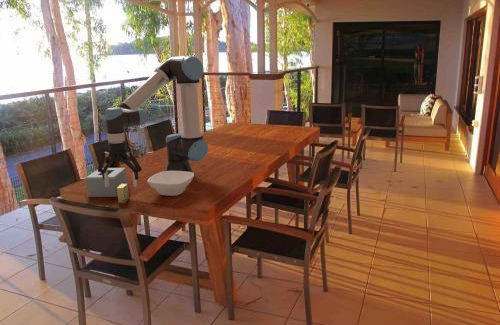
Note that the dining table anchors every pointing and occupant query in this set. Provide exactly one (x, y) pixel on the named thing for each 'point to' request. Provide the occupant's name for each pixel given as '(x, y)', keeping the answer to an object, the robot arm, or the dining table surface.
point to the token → (122, 193)
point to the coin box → (98, 184)
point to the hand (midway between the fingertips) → (121, 186)
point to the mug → (114, 164)
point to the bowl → (170, 182)
